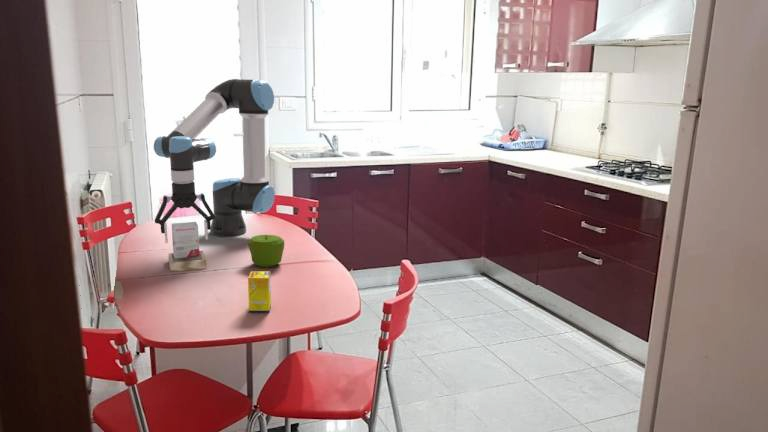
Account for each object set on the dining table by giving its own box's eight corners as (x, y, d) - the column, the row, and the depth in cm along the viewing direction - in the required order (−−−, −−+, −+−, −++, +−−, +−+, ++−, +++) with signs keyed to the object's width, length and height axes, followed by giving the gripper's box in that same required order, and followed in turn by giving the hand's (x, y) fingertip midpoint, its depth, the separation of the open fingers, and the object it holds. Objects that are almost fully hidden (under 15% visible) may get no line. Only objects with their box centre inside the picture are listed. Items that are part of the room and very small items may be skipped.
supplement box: (251, 305, 180) (250, 270, 178) (271, 305, 181) (270, 271, 178) (248, 313, 174) (247, 277, 172) (269, 313, 175) (268, 277, 172)
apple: (290, 262, 221) (290, 233, 218) (270, 272, 210) (270, 241, 208) (262, 257, 226) (262, 228, 224) (242, 266, 215) (241, 236, 213)
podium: (202, 258, 223) (202, 250, 222) (206, 268, 212) (205, 259, 212) (168, 261, 219) (168, 252, 218) (170, 271, 208) (169, 262, 207)
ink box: (197, 252, 219) (196, 221, 216) (200, 256, 215) (198, 224, 212) (172, 255, 215) (170, 223, 213) (174, 259, 211) (172, 226, 208)
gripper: (218, 177, 216) (221, 234, 222) (144, 181, 207) (149, 240, 213) (221, 181, 210) (224, 239, 215) (144, 185, 200) (149, 246, 206)
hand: (186, 240), depth 214 cm, fingers open, 13 cm apart
